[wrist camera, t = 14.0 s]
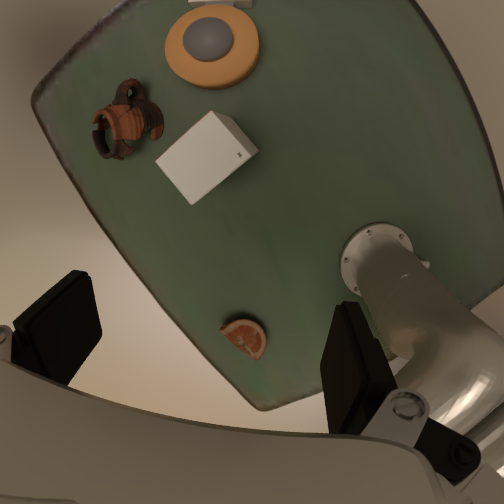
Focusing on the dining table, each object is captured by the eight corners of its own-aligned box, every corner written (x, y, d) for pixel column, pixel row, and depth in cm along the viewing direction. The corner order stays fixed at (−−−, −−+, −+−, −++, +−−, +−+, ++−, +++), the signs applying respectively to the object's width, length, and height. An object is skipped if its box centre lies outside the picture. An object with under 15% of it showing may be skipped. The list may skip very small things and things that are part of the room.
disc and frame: (267, -32, 28) (265, -55, 21) (256, 91, 36) (253, 82, 30) (190, -30, 28) (177, -50, 22) (172, 90, 37) (154, 83, 30)
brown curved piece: (165, 156, 41) (120, 171, 35) (130, 143, 45) (88, 156, 39) (171, 77, 34) (120, 82, 28) (132, 74, 37) (87, 81, 31)
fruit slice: (214, 321, 51) (209, 339, 46) (243, 301, 49) (240, 318, 44) (246, 350, 53) (243, 369, 48) (274, 333, 51) (274, 351, 46)
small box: (230, 116, 38) (212, 108, 26) (259, 150, 40) (253, 156, 27) (187, 153, 40) (153, 161, 28) (215, 186, 42) (192, 207, 30)
